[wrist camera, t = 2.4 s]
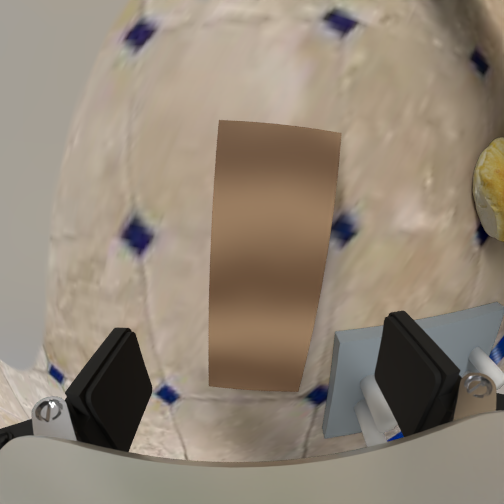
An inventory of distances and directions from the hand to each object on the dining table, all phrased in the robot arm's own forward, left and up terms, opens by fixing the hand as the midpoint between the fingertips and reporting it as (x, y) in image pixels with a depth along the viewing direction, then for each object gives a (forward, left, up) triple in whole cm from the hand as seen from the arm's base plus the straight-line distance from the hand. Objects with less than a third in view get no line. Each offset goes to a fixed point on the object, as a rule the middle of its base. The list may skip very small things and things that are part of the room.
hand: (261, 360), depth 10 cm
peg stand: (+11, +14, -9) cm, 21 cm away
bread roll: (-6, +21, -10) cm, 24 cm away
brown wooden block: (-1, 0, -10) cm, 10 cm away
